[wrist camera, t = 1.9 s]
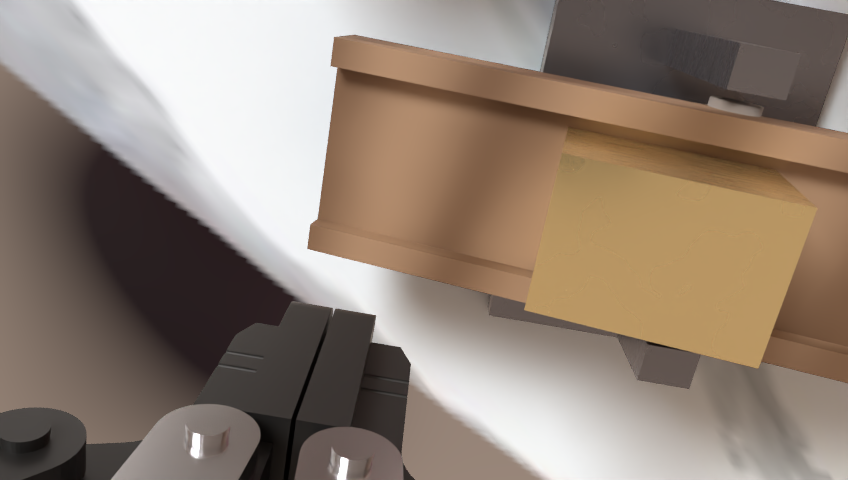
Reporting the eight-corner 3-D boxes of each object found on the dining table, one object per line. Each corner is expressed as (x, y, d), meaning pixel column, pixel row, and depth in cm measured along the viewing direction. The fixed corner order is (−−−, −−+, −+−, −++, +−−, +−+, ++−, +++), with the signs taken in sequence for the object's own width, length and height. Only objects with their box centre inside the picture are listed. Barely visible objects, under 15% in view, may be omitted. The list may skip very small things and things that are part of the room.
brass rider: (775, 170, 25) (817, 208, 20) (730, 304, 26) (758, 368, 22) (568, 126, 26) (561, 153, 21) (536, 258, 27) (524, 310, 23)
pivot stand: (842, 14, 31) (975, 26, 23) (726, 347, 37) (802, 449, 29) (563, -37, 31) (601, -43, 23) (487, 306, 36) (497, 397, 28)
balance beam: (1124, 171, 26) (1245, 208, 21) (1018, 379, 29) (1104, 455, 24) (377, 24, 31) (335, 28, 26) (349, 219, 33) (306, 256, 29)
